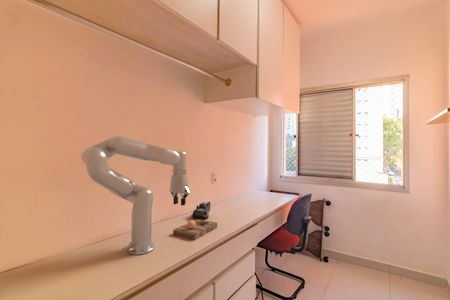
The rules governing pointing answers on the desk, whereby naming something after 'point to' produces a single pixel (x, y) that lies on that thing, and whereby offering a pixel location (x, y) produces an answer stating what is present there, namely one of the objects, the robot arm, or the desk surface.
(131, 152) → the robot arm
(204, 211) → the lucky cat figurine
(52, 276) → the desk surface
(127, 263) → the desk surface
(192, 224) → the ball
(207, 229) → the board
